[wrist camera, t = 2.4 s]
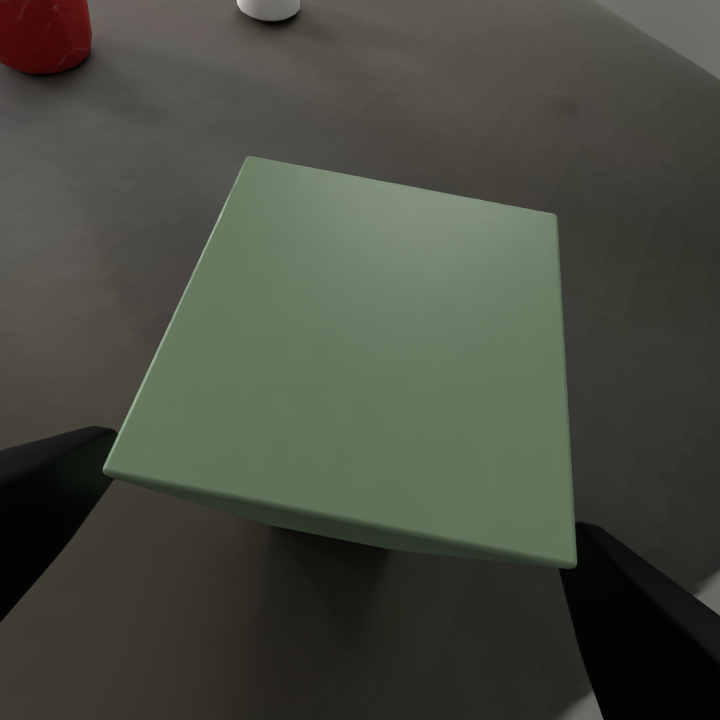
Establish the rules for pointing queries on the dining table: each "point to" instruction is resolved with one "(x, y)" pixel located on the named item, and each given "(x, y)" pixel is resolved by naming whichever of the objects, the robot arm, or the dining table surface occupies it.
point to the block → (367, 371)
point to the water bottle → (44, 34)
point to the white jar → (269, 9)
